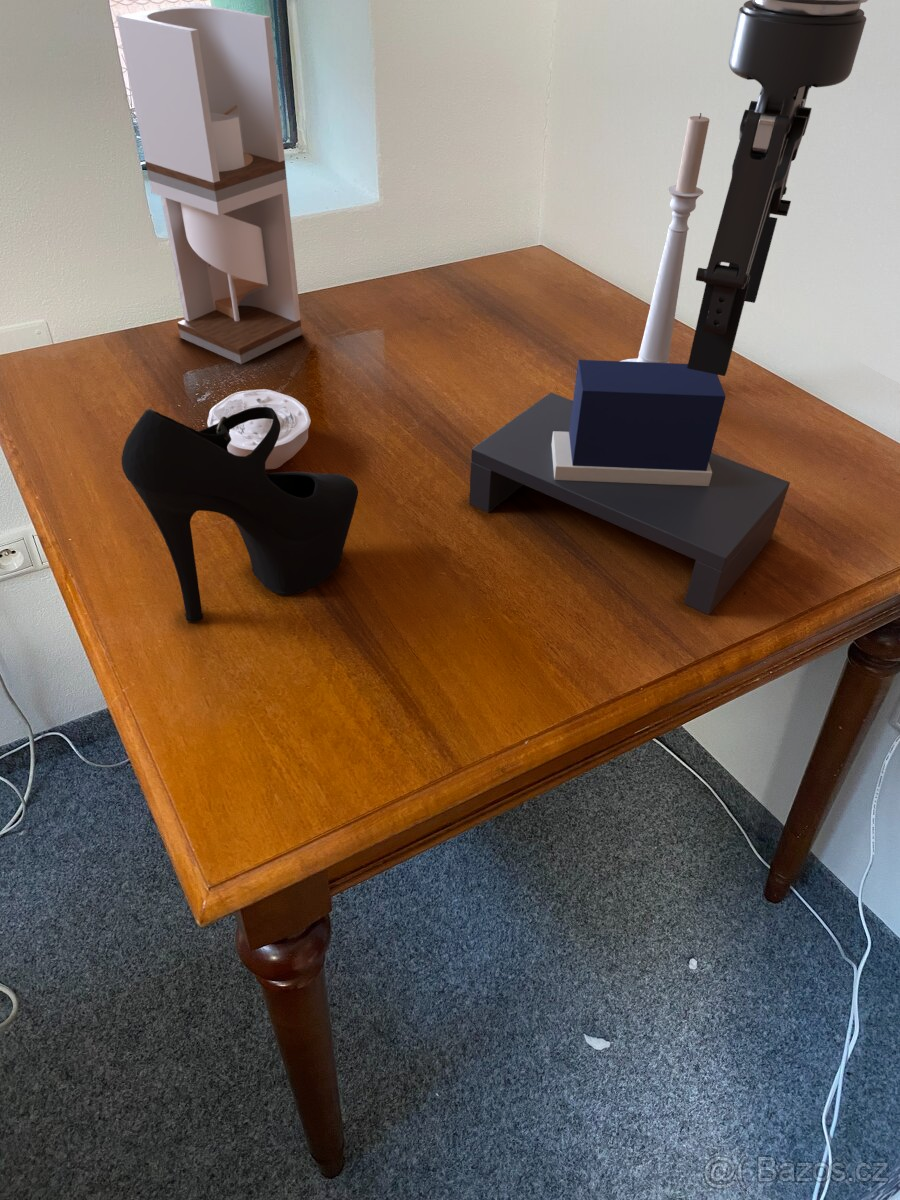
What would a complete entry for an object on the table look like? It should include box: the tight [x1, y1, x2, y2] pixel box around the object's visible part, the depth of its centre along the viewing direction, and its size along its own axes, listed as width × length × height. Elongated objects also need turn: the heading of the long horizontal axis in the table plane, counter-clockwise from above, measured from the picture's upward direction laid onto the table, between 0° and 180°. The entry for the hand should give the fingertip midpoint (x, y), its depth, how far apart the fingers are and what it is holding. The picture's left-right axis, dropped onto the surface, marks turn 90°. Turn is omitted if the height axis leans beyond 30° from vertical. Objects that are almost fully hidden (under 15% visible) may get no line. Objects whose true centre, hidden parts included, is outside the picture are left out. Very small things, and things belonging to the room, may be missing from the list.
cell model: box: [206, 388, 311, 470], centre depth 91 cm, size 10×12×7 cm
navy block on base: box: [551, 359, 726, 486], centre depth 79 cm, size 14×6×9 cm, turn 88°
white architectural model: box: [116, 3, 303, 365], centre depth 102 cm, size 11×11×35 cm
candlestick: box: [621, 112, 710, 363], centre depth 95 cm, size 13×13×30 cm
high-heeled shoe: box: [121, 407, 359, 623], centre depth 71 cm, size 8×19×20 cm, turn 130°
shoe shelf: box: [468, 392, 791, 616], centre depth 84 cm, size 26×14×6 cm, turn 53°
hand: (723, 332), depth 68 cm, fingers open, 13 cm apart
